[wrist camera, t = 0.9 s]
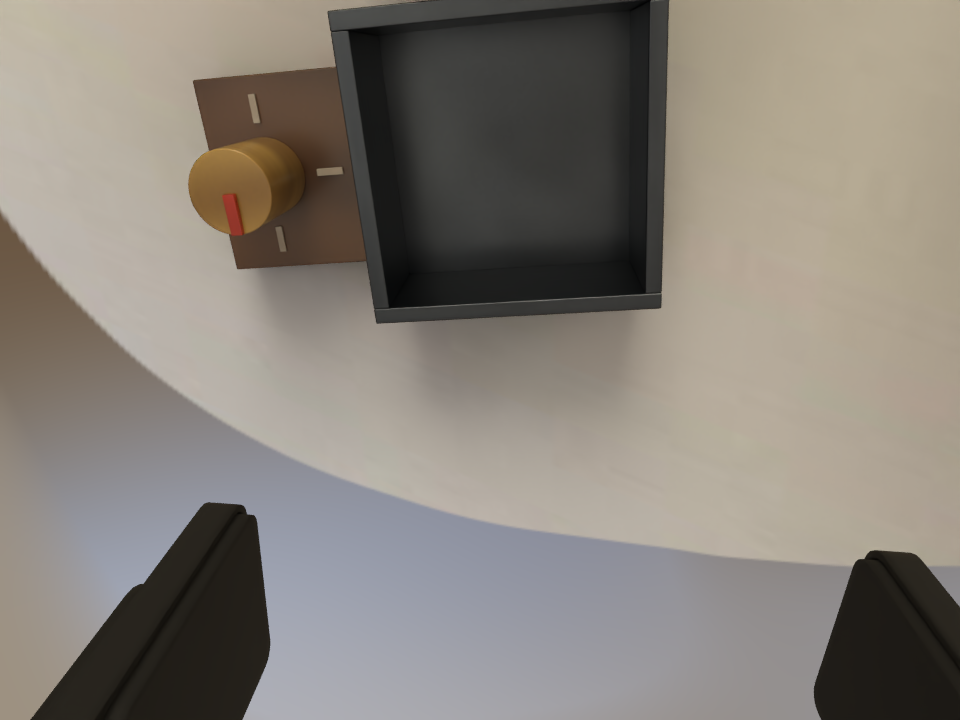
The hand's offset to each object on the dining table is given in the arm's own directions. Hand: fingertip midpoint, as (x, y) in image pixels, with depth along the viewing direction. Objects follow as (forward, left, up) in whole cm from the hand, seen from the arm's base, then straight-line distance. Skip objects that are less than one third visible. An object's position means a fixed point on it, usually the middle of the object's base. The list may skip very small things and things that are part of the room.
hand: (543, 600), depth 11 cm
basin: (-3, -1, -30) cm, 30 cm away
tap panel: (-3, -13, -30) cm, 33 cm away
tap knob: (-3, -14, -28) cm, 31 cm away
